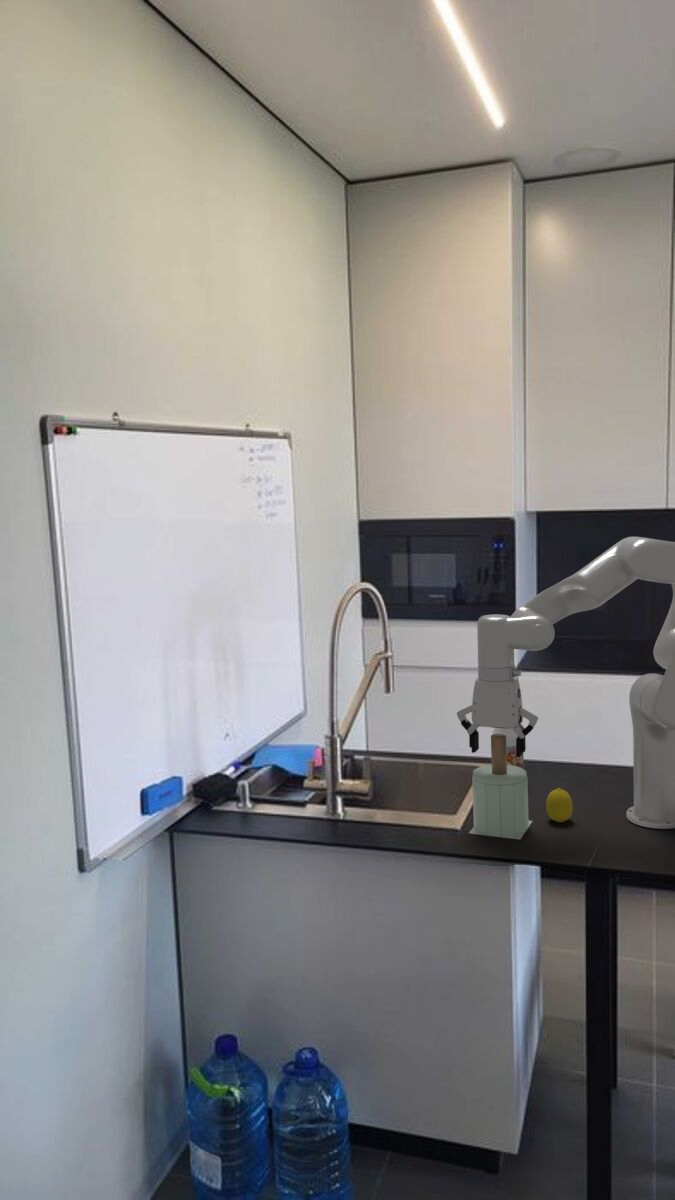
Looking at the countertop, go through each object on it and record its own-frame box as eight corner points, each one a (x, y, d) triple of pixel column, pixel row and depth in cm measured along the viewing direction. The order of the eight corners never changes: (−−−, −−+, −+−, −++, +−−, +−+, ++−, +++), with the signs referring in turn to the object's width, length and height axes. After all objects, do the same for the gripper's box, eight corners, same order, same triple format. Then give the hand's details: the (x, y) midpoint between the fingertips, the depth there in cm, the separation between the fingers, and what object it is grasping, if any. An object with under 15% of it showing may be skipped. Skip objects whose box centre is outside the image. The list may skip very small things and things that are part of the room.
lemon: (570, 819, 199) (570, 783, 198) (574, 828, 193) (574, 792, 192) (545, 819, 199) (544, 784, 198) (548, 828, 194) (547, 792, 193)
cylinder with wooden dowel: (533, 820, 197) (531, 730, 195) (520, 839, 187) (518, 745, 185) (483, 815, 202) (480, 727, 199) (468, 833, 192) (465, 741, 189)
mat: (532, 823, 197) (532, 820, 197) (520, 842, 187) (520, 839, 187) (483, 817, 202) (483, 815, 202) (468, 835, 192) (468, 833, 192)
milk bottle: (485, 785, 223) (483, 706, 221) (505, 777, 228) (502, 700, 226) (511, 792, 218) (509, 710, 215) (530, 784, 223) (528, 704, 220)
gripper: (541, 672, 190) (542, 752, 192) (461, 668, 197) (463, 744, 200) (533, 679, 183) (533, 762, 185) (451, 675, 191) (452, 754, 193)
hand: (497, 753), depth 192 cm, fingers open, 9 cm apart
